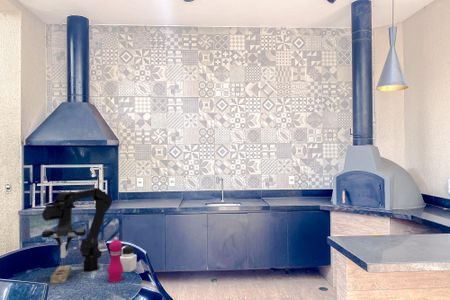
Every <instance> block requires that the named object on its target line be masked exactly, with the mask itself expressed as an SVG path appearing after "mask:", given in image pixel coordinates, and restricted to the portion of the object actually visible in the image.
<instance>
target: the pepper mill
mask: <svg viewBox="0 0 450 300" xmlns="http://www.w3.org/2000/svg"><path fill="white" fill-rule="evenodd" d="M118 239H119V238H118V237H116V236H115V237H114V238H113V240H112V241H111V242H110V243H109V245H108V248H109V255H110V261H109V264H108V266H107V268H106V269H107V270H106V272H107V274H108V279H107V281H108V282H110V283H116V282H120V281H122V280H123V275H122V273H123V266H122V264H121V261H120V256H121V255H122V247H123V243H122V242H121V241H120V240H118Z"/></svg>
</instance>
